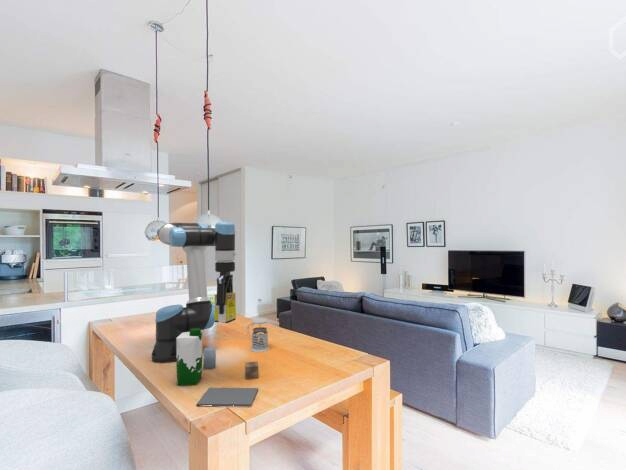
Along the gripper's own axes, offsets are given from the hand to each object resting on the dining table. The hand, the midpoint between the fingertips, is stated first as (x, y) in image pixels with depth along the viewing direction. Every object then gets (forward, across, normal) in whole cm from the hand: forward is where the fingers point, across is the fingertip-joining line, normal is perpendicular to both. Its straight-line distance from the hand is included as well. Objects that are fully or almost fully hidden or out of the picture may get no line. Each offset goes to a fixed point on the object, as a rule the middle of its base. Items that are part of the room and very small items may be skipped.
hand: (225, 319), depth 131 cm
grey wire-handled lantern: (+23, +36, -6) cm, 43 cm away
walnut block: (+23, +2, -10) cm, 25 cm away
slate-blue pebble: (+23, +11, +10) cm, 27 cm away
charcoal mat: (+23, -16, -6) cm, 29 cm away
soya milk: (+23, -3, +13) cm, 27 cm away
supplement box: (+1, 0, 0) cm, 1 cm away
